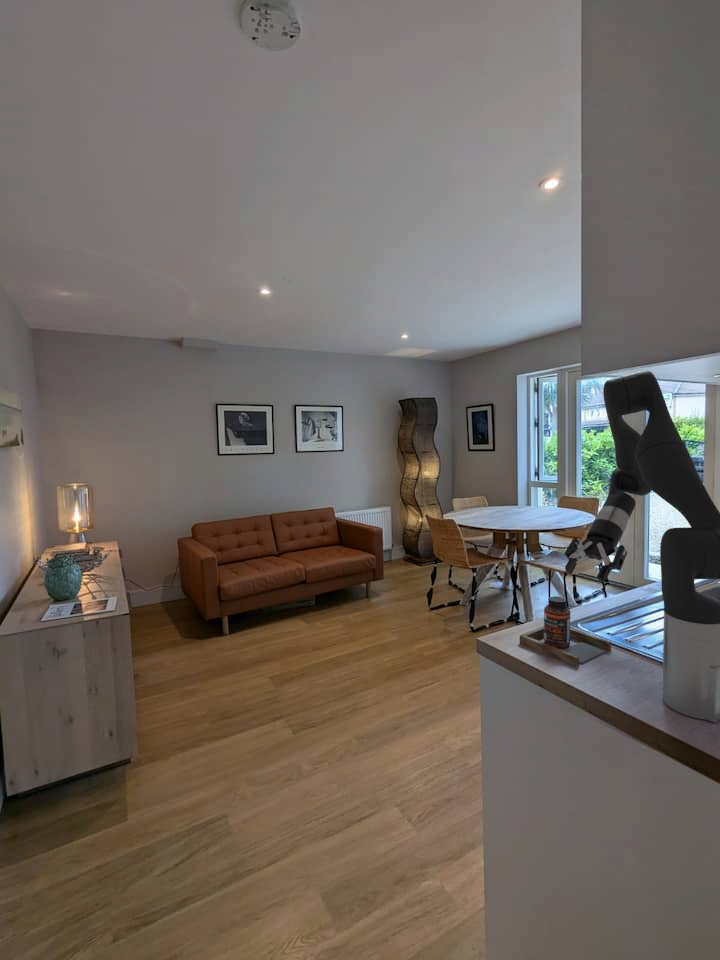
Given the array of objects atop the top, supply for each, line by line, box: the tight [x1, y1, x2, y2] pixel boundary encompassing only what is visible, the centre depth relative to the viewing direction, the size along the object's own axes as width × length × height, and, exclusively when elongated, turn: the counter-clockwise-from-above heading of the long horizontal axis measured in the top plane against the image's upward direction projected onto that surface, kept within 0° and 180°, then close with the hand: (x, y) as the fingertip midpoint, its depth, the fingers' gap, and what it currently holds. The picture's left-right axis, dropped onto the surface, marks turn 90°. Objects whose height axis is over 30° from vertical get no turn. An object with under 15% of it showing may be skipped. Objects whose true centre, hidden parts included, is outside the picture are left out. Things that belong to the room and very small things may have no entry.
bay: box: [519, 625, 612, 668], centre depth 110 cm, size 15×14×2 cm
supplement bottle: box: [543, 595, 571, 649], centre depth 112 cm, size 6×6×11 cm
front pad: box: [563, 641, 608, 665], centre depth 107 cm, size 6×10×1 cm, turn 122°
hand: (583, 576), depth 117 cm, fingers open, 8 cm apart
